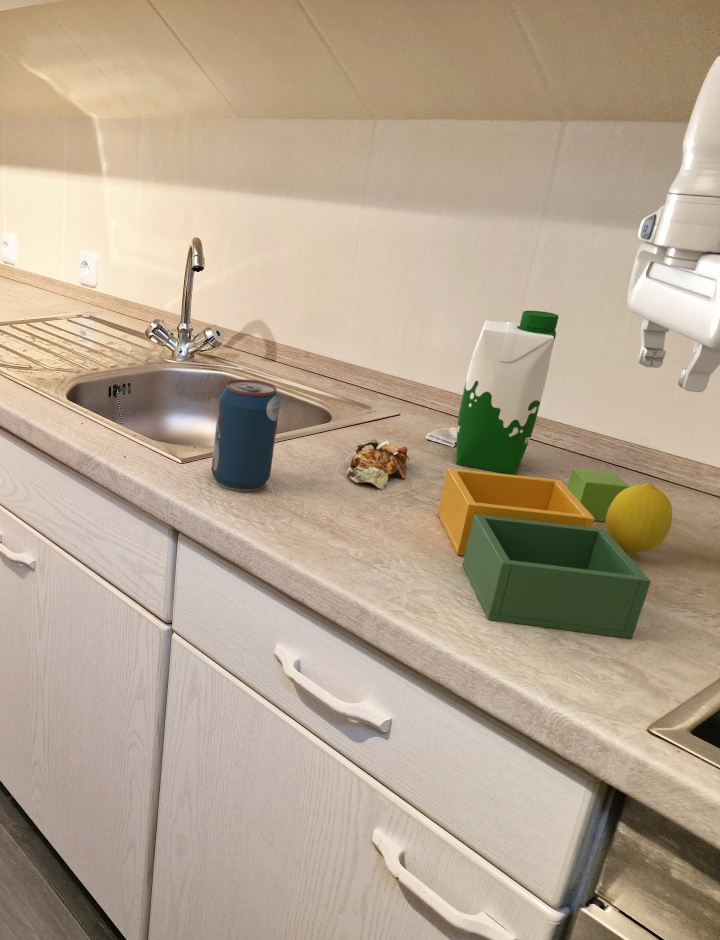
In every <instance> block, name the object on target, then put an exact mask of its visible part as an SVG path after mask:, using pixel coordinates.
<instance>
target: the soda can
mask: <svg viewBox="0 0 720 940" xmlns="http://www.w3.org/2000/svg"><path fill="white" fill-rule="evenodd" d="M280 407H281V403H280V400H279V396H278V394H277V386H276V385H274V384H272V383H269V382H265V381H262V380H256V379H233V380H229V381H228V382H226V384H225V388H224V390H223V391H222V392H221V394H220V396H219V397H218V408H217V416H216V424H215V432H214V433H215V434H214V443H213V451H212V459H211V469H210V471H211V474H212V476H213V478H214V480H215V482H216V484H217V485H219V487H222V488H224V489H226V490H231V491H235V492H246V493H248V492H256V491H259V490H261V489H262V488H263V487H264V485H266V483H267V482H268V481H269V479H270V477H271V471H272V465H273V457H274V450H275V442H276V437H277V436H276V435H277V428H278V421H279V413H280Z"/></svg>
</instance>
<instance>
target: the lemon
mask: <svg viewBox="0 0 720 940" xmlns="http://www.w3.org/2000/svg"><path fill="white" fill-rule="evenodd" d="M672 523H673V507H672V503H671V501H670V498H668V496H667V494H665V493H664V492H663V491H662V490H661V489H659V488H657V487H656V486H655V485H654V484H653V483H651V482H645V483H643V484H635V485H631V486H629V487H628V488H626V489H624V490H623V491H621V492H620V493H619V494H618V495H617V496H616V497H615V499H614V500H613V502H612V503H611V505H610V507H609V509H608V512H607V516H606V522H605V530H606V531H607V533H608V534H609V535H610V536H611V537H612V538H613V539H614V540H615V541H616V543H617V544H618V545H619V546H620V547H621V548H622V549H623V550H624V552H625V553H626V554H627V555H628V556H633V555H634V554H636V553H644V552H648V551H652V550H654V549H655V548H657V547H658V546H659V545H661V544H662V543H663V542H664V540H665V539H666V538H667V536H668V534H669V532H670V530H671V526H672Z"/></svg>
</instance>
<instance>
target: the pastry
mask: <svg viewBox="0 0 720 940" xmlns="http://www.w3.org/2000/svg"><path fill="white" fill-rule="evenodd" d="M367 446H371V447H372V448H366V449H364V448H365V447H367ZM407 454H408V447H406V446H398V447H397V446H395V445H393V444H392V443H391V441H389V440H386V441H383V442H380V443H379V441H378V440H377V439H376V438H375V437H373V438H372V437H371V438H369V439H368V440H365V441H363V443H361V442H360V443H359V442H358V443H357V445H356V446H355V448H354V451H353V455H352V456H351V457H350V461H349V464H348V467H347V473H346V475H347V477H348V479H349V480H352V482H355V483H370V484H372V485H374V486H375V487H376V488H378V489H380V490H384V488H385V486H386V485H387V484H388V479H389V475H393V474H395V473H396V472H397V471H398V473H399V474H400V476H401V478H402V480H405V479H406V474H407V472H408V471H407V466H406V465H407V462H408V461H410V458H409V456H408V455H407Z"/></svg>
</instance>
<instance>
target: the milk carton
mask: <svg viewBox="0 0 720 940" xmlns="http://www.w3.org/2000/svg"><path fill="white" fill-rule="evenodd" d="M558 321H559V315H558V314H556V313H553V312H548V311H541V310H523V311H522V314H521V318H520V322H519V323H518V322H515V321H507V322H505V321H497V320H487V319H486V320H485V321H484V324H483V327H482V329H481V332H480V334H479V337H478V339H477V342H476V344H475V346H474V347H475V348H474V349H473V352H472V355H471V358H470V359H471V360H470V362H469V366H468V369H467V374H466V379H465V384H464V387H463V392H462V397H461V401H460V405H459V411H458V418H457V424H456V425H457V426H456V459H455V460H456V462H455V463H456V465H458V466H463V467H469V468H474V469H480V470H484V471H492V472H495V473H501V474H509V475H517V472H518V470H519V468H520V465H521V462H522V460H523V458H524V455H525V452H526V451H527V450H526V449H527V447H528V445H529V443H530V440H531V439H532V438H531V437H532V434H533V433H534V432H533V431H534V428H535V426H536V425H535V424H536V421H537V418H538V413H539V410H540V406H541V402H542V399H543V394H544V390H545V386H546V384H547V383H546V382H547V378H548V374H549V370H550V369H549V368H550V363H551V358H552V352H553V348H554V342H555V340H556V337H557V331H556V329H557V326H558Z"/></svg>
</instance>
